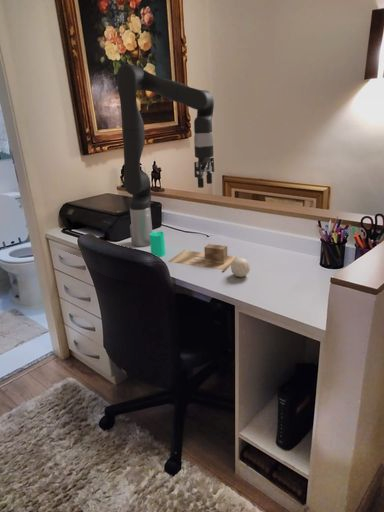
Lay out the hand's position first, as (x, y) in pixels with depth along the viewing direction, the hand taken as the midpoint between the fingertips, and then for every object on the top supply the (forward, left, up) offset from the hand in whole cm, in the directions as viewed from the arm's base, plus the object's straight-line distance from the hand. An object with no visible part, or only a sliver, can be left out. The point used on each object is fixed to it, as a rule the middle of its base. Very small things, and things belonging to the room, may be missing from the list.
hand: (205, 185), depth 158 cm
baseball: (+23, -22, -28) cm, 43 cm away
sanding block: (+10, -14, -27) cm, 32 cm away
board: (+4, -14, -28) cm, 32 cm away
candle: (-16, -15, -28) cm, 36 cm away
